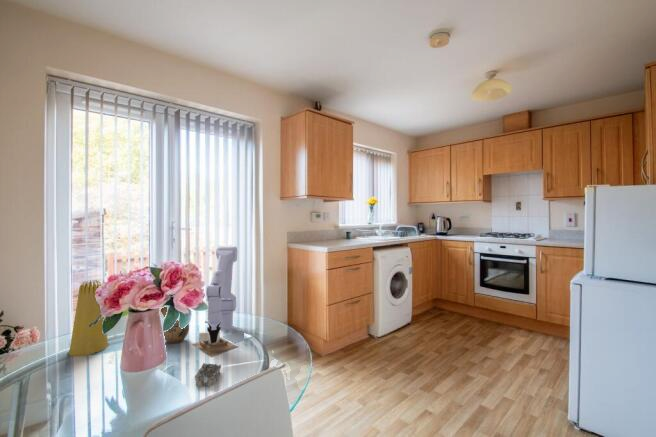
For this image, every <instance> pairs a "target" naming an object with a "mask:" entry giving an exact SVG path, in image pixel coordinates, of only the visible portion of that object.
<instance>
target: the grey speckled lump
mask: <svg viewBox="0 0 656 437" xmlns="http://www.w3.org/2000/svg"><path fill="white" fill-rule="evenodd" d="M221 368H222V365H221V364H219V365H217V363H204V362H203V363H202V365H201V367H200V368H199V369H198V371H197V372H196V374H195V375H194V380H195V386H198V387H199V388H201V387H202V388H203V386H208V387H212V386H213V385H216V383H217V380H218V378H219V375H220V374H221ZM205 374H206V378H207V379H203V378H204V377H205Z"/></svg>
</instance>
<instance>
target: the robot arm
mask: <svg viewBox="0 0 656 437" xmlns="http://www.w3.org/2000/svg"><path fill="white" fill-rule="evenodd" d="M215 255H216V259H217V260H218V261H217V267H216V270H215V271H214V272H213V274H212V276H211V280H210V284H209V285H208V286H207V288H206V292H205V293H206V294H205V295H206V301H207V319H205V320H204V324H207V325H208V326H207V328H206V329H207V331H208V332H209V335H210V340H211V343H216V341H217V337H218V333H219V331H221V332H225V331H227V332H228V331H229V330H232V329H236V328H237V327H236V326H234V324H233V322H234V319H233V318H234V312H235V311H236V309H237V296H236V295H235V294H233V292H232V284H233V283H232V282H233V268H234V263H235V262H237V260H238V247H237V246H236V245H235V246H221V245H219V246H217V248H216V250H215Z"/></svg>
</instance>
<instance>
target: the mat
mask: <svg viewBox="0 0 656 437" xmlns="http://www.w3.org/2000/svg"><path fill="white" fill-rule="evenodd" d="M244 333H247V332H246V331H244V330H239V331H236V332H232V333H229V334H226V335H223V336H222V338H223V339H224V340H226V341H228V342H230V343H232V344H233V343H234V344H237V343H241V342H243V341H246V340H247V339H245V338H244Z"/></svg>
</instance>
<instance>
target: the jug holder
mask: <svg viewBox="0 0 656 437" xmlns="http://www.w3.org/2000/svg"><path fill="white" fill-rule="evenodd" d="M191 345H192V346H194V347H195V348H197V349H198V350H199V351H201V352H202V353H204V354H205V355H208V356H209V357H210V358H213V357H216V356H218V355H221V354H224V353H226V352H229V351H231V350H235V349H238V346H237V345H235V343H234V344H233V342H231V341H229V340H227V339H225V338H224V337H221V336H220V343H219V344H216V345H213V346H211V347H210V346H209V345H208V341H202V342H199V341H197V342H194V343H191Z"/></svg>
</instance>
